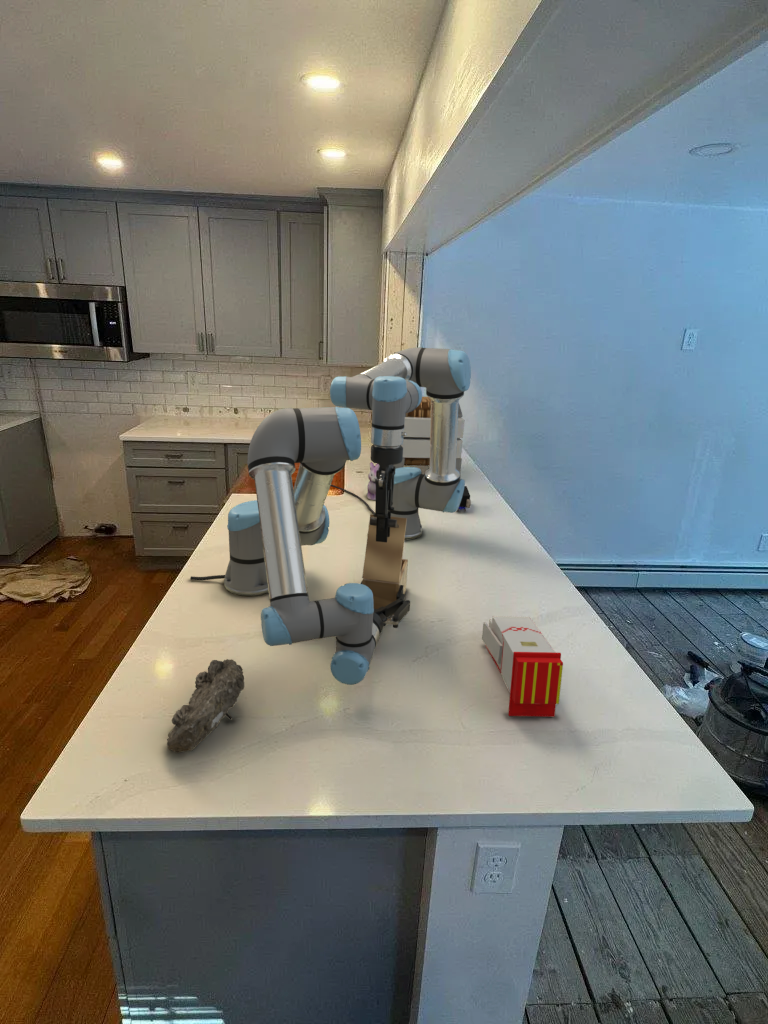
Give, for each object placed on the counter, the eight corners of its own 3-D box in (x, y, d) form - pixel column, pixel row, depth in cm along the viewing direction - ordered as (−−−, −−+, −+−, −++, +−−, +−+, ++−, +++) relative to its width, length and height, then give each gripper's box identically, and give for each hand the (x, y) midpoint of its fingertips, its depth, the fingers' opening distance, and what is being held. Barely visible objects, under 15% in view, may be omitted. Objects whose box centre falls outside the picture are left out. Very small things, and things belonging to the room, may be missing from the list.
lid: (370, 514, 146) (364, 510, 138) (406, 518, 145) (403, 514, 137) (362, 578, 145) (356, 577, 136) (399, 582, 143) (395, 582, 135)
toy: (528, 601, 136) (572, 659, 107) (523, 653, 139) (565, 722, 110) (478, 600, 136) (508, 657, 107) (474, 652, 139) (503, 722, 109)
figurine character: (470, 516, 223) (465, 500, 237) (473, 499, 220) (467, 484, 233) (453, 516, 223) (449, 500, 236) (455, 498, 220) (451, 483, 233)
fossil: (192, 660, 117) (244, 628, 112) (224, 691, 120) (276, 661, 115) (142, 746, 98) (202, 712, 93) (182, 779, 101) (242, 748, 96)
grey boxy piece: (382, 463, 289) (386, 382, 275) (445, 464, 293) (451, 384, 279) (390, 482, 257) (394, 392, 243) (460, 483, 261) (468, 394, 247)
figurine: (371, 501, 231) (372, 466, 226) (360, 494, 239) (361, 460, 234) (391, 499, 235) (393, 464, 230) (380, 492, 244) (382, 458, 238)
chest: (373, 585, 162) (374, 555, 159) (406, 589, 160) (407, 559, 157) (361, 612, 148) (362, 579, 144) (397, 617, 146) (399, 584, 143)
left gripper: (316, 640, 130) (341, 595, 150) (411, 653, 126) (423, 605, 147) (316, 611, 127) (341, 569, 148) (413, 624, 124) (425, 579, 144)
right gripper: (397, 454, 124) (392, 553, 132) (408, 439, 138) (402, 528, 146) (363, 451, 125) (360, 549, 133) (377, 436, 140) (374, 525, 147)
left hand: (382, 587), depth 147 cm, fingers closed on chest, 9 cm apart
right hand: (382, 538), depth 139 cm, fingers open, 3 cm apart
